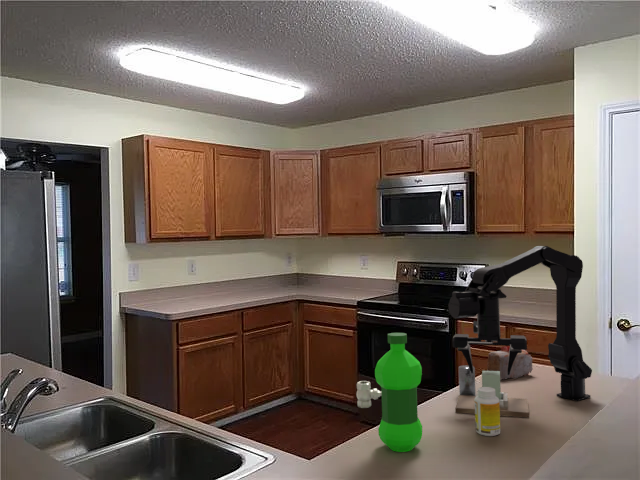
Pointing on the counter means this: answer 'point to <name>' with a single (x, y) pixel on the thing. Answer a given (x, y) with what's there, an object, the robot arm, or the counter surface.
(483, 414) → the supplement bottle
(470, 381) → the round peg
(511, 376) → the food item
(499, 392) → the square peg
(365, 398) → the valve
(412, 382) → the plastic bottle
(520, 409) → the bore board
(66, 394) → the counter surface
